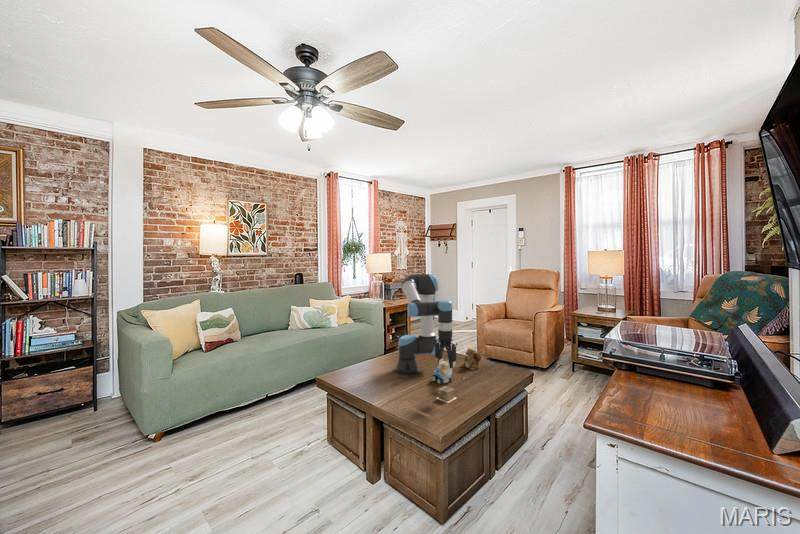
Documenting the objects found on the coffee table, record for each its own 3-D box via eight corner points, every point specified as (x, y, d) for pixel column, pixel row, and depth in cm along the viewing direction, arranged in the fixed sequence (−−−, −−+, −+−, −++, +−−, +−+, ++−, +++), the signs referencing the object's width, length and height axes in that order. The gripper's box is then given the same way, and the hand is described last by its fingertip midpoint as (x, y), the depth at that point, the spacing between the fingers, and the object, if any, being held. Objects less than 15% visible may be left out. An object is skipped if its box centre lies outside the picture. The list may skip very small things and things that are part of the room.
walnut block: (438, 398, 179) (438, 389, 179) (445, 394, 183) (445, 385, 183) (447, 401, 175) (447, 392, 174) (454, 397, 179) (454, 388, 179)
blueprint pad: (426, 397, 182) (426, 395, 182) (441, 389, 192) (441, 387, 192) (450, 406, 171) (450, 404, 171) (465, 397, 181) (465, 396, 181)
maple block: (438, 374, 178) (438, 363, 178) (444, 371, 182) (444, 361, 181) (446, 376, 175) (446, 365, 174) (452, 374, 178) (452, 363, 178)
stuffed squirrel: (459, 367, 229) (459, 348, 229) (473, 363, 237) (473, 344, 236) (469, 371, 221) (469, 351, 220) (484, 367, 229) (484, 348, 228)
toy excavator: (446, 390, 191) (446, 361, 191) (431, 380, 206) (430, 353, 205) (458, 387, 195) (458, 358, 195) (442, 377, 210) (442, 351, 209)
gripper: (427, 328, 181) (428, 370, 182) (454, 333, 168) (455, 378, 169) (436, 326, 186) (436, 366, 187) (463, 331, 173) (463, 374, 174)
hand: (445, 372), depth 178 cm, fingers closed on maple block, 5 cm apart
